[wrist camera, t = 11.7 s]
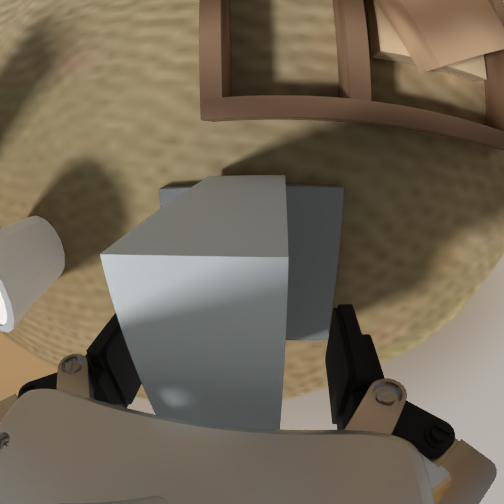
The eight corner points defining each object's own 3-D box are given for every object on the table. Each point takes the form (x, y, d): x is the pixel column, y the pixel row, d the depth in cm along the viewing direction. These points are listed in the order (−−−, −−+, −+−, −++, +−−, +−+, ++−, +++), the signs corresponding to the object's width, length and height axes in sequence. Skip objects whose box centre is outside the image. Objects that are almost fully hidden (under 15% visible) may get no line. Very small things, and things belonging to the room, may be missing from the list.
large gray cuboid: (208, 176, 15) (99, 254, 6) (284, 175, 14) (288, 257, 5) (223, 341, 19) (186, 472, 10) (282, 344, 19) (274, 482, 10)
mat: (162, 187, 16) (158, 189, 15) (341, 185, 15) (344, 188, 14) (183, 328, 20) (181, 333, 19) (326, 334, 19) (327, 340, 18)
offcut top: (353, -25, 9) (363, -44, 7) (435, -37, 7) (450, -50, 5) (420, 73, 10) (440, 67, 8) (491, 51, 9) (513, 47, 7)
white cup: (77, 233, 18) (10, 279, 11) (66, 300, 21) (17, 350, 14) (21, 193, 17) (-44, 223, 11) (15, 259, 20) (-36, 297, 13)
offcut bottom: (354, -33, 10) (362, -49, 8) (451, -7, 9) (466, -17, 7) (368, 60, 12) (380, 51, 10) (467, 82, 12) (486, 79, 10)
